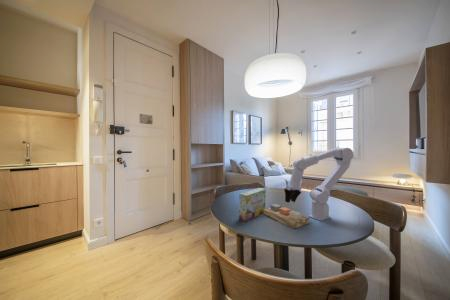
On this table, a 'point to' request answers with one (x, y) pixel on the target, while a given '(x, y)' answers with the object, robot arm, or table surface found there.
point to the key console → (286, 218)
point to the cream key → (295, 215)
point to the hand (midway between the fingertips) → (290, 201)
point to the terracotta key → (284, 211)
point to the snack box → (251, 204)
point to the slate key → (275, 207)
